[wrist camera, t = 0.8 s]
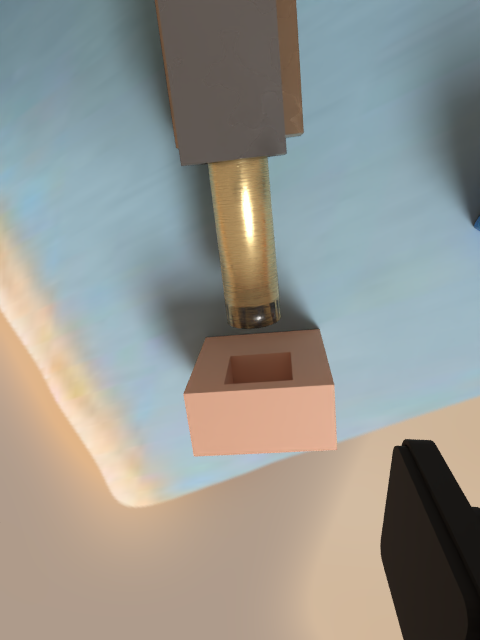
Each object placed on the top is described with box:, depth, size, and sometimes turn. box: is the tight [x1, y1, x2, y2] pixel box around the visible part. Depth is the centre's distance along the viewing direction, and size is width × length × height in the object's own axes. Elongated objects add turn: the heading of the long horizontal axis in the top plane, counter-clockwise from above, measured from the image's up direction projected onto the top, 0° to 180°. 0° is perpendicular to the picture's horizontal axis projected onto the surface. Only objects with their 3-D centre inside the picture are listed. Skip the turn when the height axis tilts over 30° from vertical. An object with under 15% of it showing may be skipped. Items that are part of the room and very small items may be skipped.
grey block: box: [155, 0, 304, 166], centre depth 22 cm, size 9×7×8 cm
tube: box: [208, 156, 281, 329], centre depth 23 cm, size 16×3×3 cm, turn 6°
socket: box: [184, 329, 337, 456], centre depth 28 cm, size 4×8×8 cm, turn 96°
